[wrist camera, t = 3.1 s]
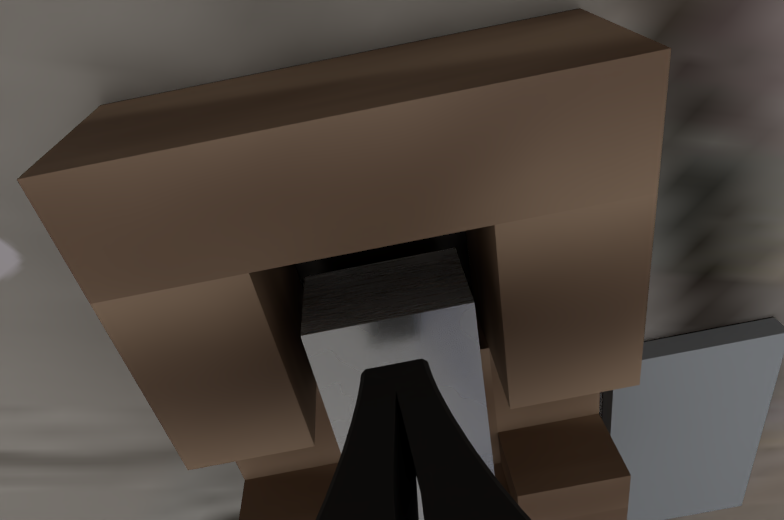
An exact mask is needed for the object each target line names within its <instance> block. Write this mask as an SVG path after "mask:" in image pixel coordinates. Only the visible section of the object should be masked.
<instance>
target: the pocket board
mask: <svg viewBox="0 0 784 520" xmlns="http://www.w3.org/2000/svg"><path fill="white" fill-rule="evenodd" d="M670 56H671V48H669V47H667V46H665V45H662V44H660V43H658V42H656V41H653V40H651V39H649V38H646V37H644V36H642V35H640V34H637V33H635V32H633V31H631V30H628V29H626V28H624V27H621V26H619V25H617V24H615V23H612V22H610V21H608V20H605V19H603V18H601V17H599V16H596V15H594V14H592V13H590V12H587V11H585V10H583V9H575V10H570V11H565V12H560V13H555V14H550V15H545V16H540V17H535V18H530V19H525V20H520V21H515V22H510V23H506V24H501V25H496V26H491V27H486V28H481V29H476V30H471V31H466V32H461V33H456V34H451V35H446V36H441V37H436V38H431V39H426V40H421V41H417V42H412V43H407V44H402V45H397V46H392V47H387V48H382V49H377V50H372V51H367V52H362V53H357V54H352V55H347V56H342V57H337V58H332V59H327V60H323V61H318V62H313V63H308V64H303V65H298V66H293V67H288V68H283V69H278V70H273V71H268V72H263V73H258V74H253V75H248V76H243V77H238V78H233V79H229V80H224V81H219V82H214V83H209V84H204V85H199V86H194V87H189V88H184V89H179V90H174V91H169V92H164V93H159V94H154V95H149V96H144V97H140V98H135V99H130V100H125V101H120V102H115V103H110V104H105V105H100V106H99V107H98V108H97V109H96V110H95V111H94V112H92V113H91V114H90V115H89V116H88V117H87V118H86V119H84V120H83V121H82V122H81V123H80V124H79V125H78V126H77V127H75V128H74V129H73V130H72V131H71V132H70V133H69V134H68V135H66V136H65V137H64V138H63V139H62V140H61V141H60V142H58V143H57V144H56V145H55V146H54V147H53V148H52V149H51V150H49V151H48V152H47V153H46V154H45V155H44V156H43V157H42V158H40V159H39V160H38V161H37V162H36V163H35V164H34V165H32V166H31V167H30V168H29V169H28V170H27V171H26V172H25V173H23V174H22V175H21V176H20V177H19V178H18V179H17V181H18V182H19V184H20V186H21V187H22V189H23V191H24V192H25V194H26V196H27V198H28V199H29V201H30V203H31V204H32V206H33V208H34V209H35V211H36V213H37V214H38V216H39V218H40V220H41V221H42V223H43V225H44V226H45V228H46V230H47V231H48V233H49V235H50V237H51V238H52V240H53V242H54V243H55V245H56V247H57V248H58V250H59V252H60V254H61V255H62V257H63V259H64V260H65V262H66V264H67V265H68V267H69V269H70V271H71V272H72V274H73V276H74V277H75V279H76V281H77V282H78V284H79V286H80V288H81V289H82V291H83V293H84V294H85V296H86V298H87V299H88V301H89V303H90V305H91V306H92V308H93V310H94V311H95V313H96V315H97V316H98V318H99V320H100V321H101V323H102V325H103V327H104V328H105V330H106V332H107V333H108V335H109V337H110V338H111V340H112V342H113V344H114V345H115V347H116V349H117V350H118V352H119V354H120V355H121V357H122V359H123V361H124V362H125V364H126V366H127V367H128V369H129V371H130V372H131V374H132V376H133V378H134V379H135V381H136V383H137V384H138V386H139V388H140V389H141V391H142V393H143V395H144V396H145V398H146V400H147V401H148V403H149V405H150V406H151V408H152V410H153V411H154V413H155V415H156V417H157V418H158V420H159V422H160V423H161V425H162V427H163V428H164V430H165V432H166V434H167V435H168V437H169V439H170V440H171V442H172V444H173V445H174V447H175V449H176V451H177V452H178V454H179V456H180V457H181V459H182V461H183V462H184V464H185V466H186V468H187V469H188V470H192V469H197V468H203V467H208V466H213V465H218V464H224V463H229V462H234V461H236V463H237V465H238V467H239V469H240V471H241V473H242V475H243V477H244V479H245V483H244V490H243V497H242V503H241V510H240V516H239V520H315V519H316V517H317V515H318V513H319V510H320V508H321V506H322V503H323V501H324V499H325V496H326V494H327V491H328V488H329V486H330V483H331V480H332V478H333V475H334V473H335V470H336V467H337V465H338V462H339V459H340V456H341V452H340V449H339V446H338V443H337V441H336V438H335V435H334V432H333V429H332V426H331V423H330V420H329V417H328V414H327V412H326V409H325V406H324V403H323V400H322V397H321V394H320V391H319V388H318V385H317V382H316V380H315V377H314V374H313V371H312V368H311V365H310V362H309V359H308V356H307V353H306V351H305V348H304V345H303V342H302V339H301V322H302V309H303V295H304V292H303V288H302V285H301V282H300V279H299V276H298V273H297V270H296V267H295V264H298V263H303V262H308V261H313V260H318V259H323V258H328V257H333V256H339V255H344V254H349V253H354V252H359V251H364V250H369V249H374V248H379V247H385V246H390V245H395V244H400V243H405V242H410V241H415V240H420V239H426V238H431V237H436V236H441V235H446V234H451V233H456V232H461V231H466V238H467V247H468V255H469V264H470V272H471V281H472V289H473V298H474V303H475V311H476V320H477V328H478V337H479V346H480V354H481V363H482V371H483V380H484V388H485V397H486V405H487V414H488V422H489V431H490V439H491V448H492V456H493V465H494V473H495V477H496V478H497V479H498V481H499V482H500V483H501V484H502V486H503V487H504V488H505V489H506V491H507V492H508V493H509V494H510V495H511V497H512V498H513V499H514V500H515V501H516V503H517V504H518V505H519V506H520V507H521V509H522V510H523V511H524V512H525V513H526V514H527V515H528V516H529V517H530V519H531V520H627V513H628V503H629V492H630V481H631V474H630V472H629V470H628V469H627V467H626V465H625V463H624V461H623V459H622V457H621V455H620V453H619V451H618V449H617V447H616V445H615V443H614V442H613V440H612V438H611V436H610V434H609V432H608V430H607V428H606V426H605V424H604V422H603V420H602V418H601V416H600V415H599V400H600V392H605V391H610V390H615V389H621V388H626V387H631V386H637V385H640V375H641V364H642V354H643V343H644V332H645V322H646V311H647V301H648V290H649V279H650V269H651V258H652V247H653V237H654V226H655V215H656V205H657V194H658V184H659V173H660V162H661V152H662V141H663V130H664V120H665V109H666V98H667V88H668V77H669V67H670Z"/></svg>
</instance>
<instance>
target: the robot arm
mask: <svg viewBox="0 0 784 520" xmlns="http://www.w3.org/2000/svg"><path fill="white" fill-rule="evenodd" d="M416 477H417V481H418V485H419V489H420V493H421V500H422V507H423V515H424V520H531V519H530V517H529V516H528V515H527V514H526V513H525V512H524V511H523V510H522V509H521V507H520V506H519V505H518V504H517V503H516V501H515V500H514V499H513V498H512V497H511V495H510V494H509V493H508V492H507V491H506V489H505V488H504V487H503V486H502V484H501V483H500V482H499V481H498V479H497V478H496V477H495V476H494V474H493V473H492V472H491V470H490V469H489V468H488V466H487V465H486V464H485V462H484V461H483V459H482V458H481V457H480V455H479V454H478V453H477V451H476V450H475V448H474V447H473V445H472V444H471V443H470V441H469V440H468V438H467V437H466V435H465V433H464V432H463V430H462V429H461V427H460V425H459V424H458V422H457V421H456V419H455V418H454V416H453V414H452V413H451V411H450V409H449V407H448V406H447V404H446V402H445V400H444V398H443V396H442V395H441V393H440V391H439V389H438V386H437V384H436V382H435V380H434V378H433V375H432V372H431V370H430V367H429V363H428V361H426V360H424V359H416V360H411V361H406V362H401V363H395V364H390V365H385V366H380V367H374V368H369V369H365V370H364V371H363V372H362V374H361V378H360V385H359V391H358V396H357V400H356V405H355V409H354V413H353V417H352V420H351V424H350V427H349V431H348V434H347V437H346V440H345V443H344V447H343V450H342V453H341V456H340V459H339V462H338V465H337V467H336V470H335V473H334V475H333V478H332V480H331V483H330V486H329V488H328V491H327V494H326V496H325V499H324V501H323V503H322V506H321V508H320V510H319V513H318V515H317V517H316V519H315V520H419V513H418V497H417V481H416Z"/></svg>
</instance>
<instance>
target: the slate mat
mask: <svg viewBox="0 0 784 520" xmlns="http://www.w3.org/2000/svg"><path fill="white" fill-rule="evenodd" d="M783 355H784V326H783V325H782V324H781V323H780V322H779V321H778V320H777V319H775V318H768V319H763V320H758V321H753V322H747V323H742V324H737V325H732V326H726V327H721V328H716V329H711V330H705V331H700V332H695V333H690V334H684V335H679V336H674V337H669V338H663V339H658V340H653V341H648V342H644V343H643V354H642V364H641V375H640V385H637V386H631V387H626V388H621V389H615V390H610V391H605V392H603V409H602V420H603V422H604V424H605V426H606V428H607V430H608V432H609V434H610V436H611V438H612V440H613V442H614V443H615V445H616V447H617V449H618V451H619V453H620V455H621V457H622V459H623V461H624V463H625V465H626V467H627V469H628V470H629V472H630V474H631V481H630V492H629V503H628V513H627V520H666V519H671V518H676V517H682V516H687V515H693V514H698V513H704V512H709V511H714V510H720V509H725V508H731V507H736V506H741V505H742V502H743V498H744V495H745V491H746V487H747V484H748V480H749V477H750V473H751V469H752V466H753V462H754V459H755V455H756V452H757V448H758V444H759V441H760V437H761V434H762V430H763V426H764V423H765V419H766V416H767V412H768V408H769V405H770V401H771V398H772V394H773V390H774V387H775V383H776V380H777V376H778V373H779V369H780V365H781V362H782V358H783Z"/></svg>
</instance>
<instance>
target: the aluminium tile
mask: <svg viewBox="0 0 784 520" xmlns="http://www.w3.org/2000/svg"><path fill="white" fill-rule="evenodd" d="M301 339H302V342H303V345H304V348H305V351H306V353H307V356H308V359H309V362H310V365H311V368H312V371H313V374H314V377H315V380H316V382H317V385H318V388H319V391H320V394H321V397H322V400H323V403H324V406H325V409H326V412H327V414H328V417H329V420H330V423H331V426H332V429H333V432H334V435H335V438H336V441H337V443H338V446H339V449H340V452H341V453H342V450H343V447H344V443H345V440H346V437H347V434H348V431H349V427H350V424H351V420H352V417H353V413H354V409H355V405H356V400H357V396H358V391H359V385H360V378H361V374H362V372H363V371H364V370H365V369H369V368H374V367H380V366H385V365H390V364H395V363H401V362H406V361H411V360H416V359H424V360H426V361H428V363H429V367H430V370H431V372H432V375H433V378H434V380H435V382H436V384H437V386H438V389H439V391H440V393H441V395H442V396H443V398H444V400H445V402H446V404H447V406H448V407H449V409H450V411H451V413H452V414H453V416H454V418H455V419H456V421H457V422H458V424H459V425H460V427H461V429H462V430H463V432H464V433H465V435H466V437H467V438H468V440H469V441H470V443H471V444H472V445H473V447H474V448H475V450H476V451H477V453H478V454H479V455H480V457H481V458H482V459H483V461H484V462H485V464H486V465H487V466H488V468H489V469H490V470H491V472H492V473H493V474H494V476H495V473H494V465H493V456H492V448H491V439H490V431H489V422H488V414H487V405H486V397H485V388H484V380H483V371H482V363H481V354H480V346H479V337H478V328H477V320H476V311H475V303H474V300H473V297H472V294H471V291H470V288H469V286H468V283H467V280H466V277H465V274H464V271H463V269H462V266H461V263H460V260H459V257H458V254H457V251H456V249H455V248H449V249H444V250H439V251H434V252H429V253H424V254H419V255H414V256H408V257H403V258H398V259H393V260H388V261H383V262H378V263H372V264H367V265H362V266H357V267H352V268H347V269H342V270H337V271H331V272H326V273H321V274H316V275H311V276H306V277H305V282H304V295H303V309H302V322H301ZM416 481H417V477H416ZM417 497H418V513H419V520H424V515H423V507H422V500H421V493H420V489H419V485H418V481H417Z"/></svg>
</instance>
